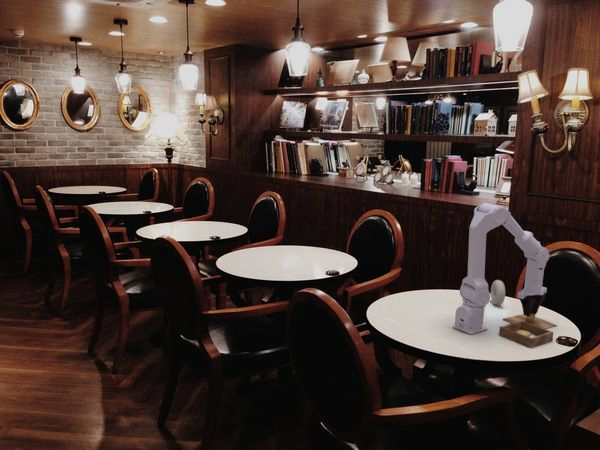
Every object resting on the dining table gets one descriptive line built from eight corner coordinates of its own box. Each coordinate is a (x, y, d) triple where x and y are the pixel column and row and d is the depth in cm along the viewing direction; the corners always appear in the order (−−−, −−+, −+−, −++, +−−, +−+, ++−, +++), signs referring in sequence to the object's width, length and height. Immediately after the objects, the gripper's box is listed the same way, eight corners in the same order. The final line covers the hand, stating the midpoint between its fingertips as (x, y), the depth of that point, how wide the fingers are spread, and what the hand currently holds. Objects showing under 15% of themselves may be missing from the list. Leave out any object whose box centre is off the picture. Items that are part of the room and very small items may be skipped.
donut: (505, 309, 207) (507, 284, 205) (496, 308, 207) (498, 284, 206) (497, 300, 217) (499, 277, 215) (488, 300, 217) (490, 276, 215)
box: (530, 348, 171) (531, 339, 170) (498, 335, 180) (499, 326, 180) (552, 340, 177) (553, 332, 176) (520, 328, 187) (521, 320, 186)
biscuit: (525, 338, 179) (525, 335, 179) (513, 334, 183) (514, 331, 182) (532, 335, 182) (533, 333, 182) (520, 331, 185) (521, 328, 185)
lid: (533, 333, 184) (534, 323, 183) (502, 320, 195) (503, 310, 194) (556, 327, 190) (558, 317, 190) (525, 315, 201) (527, 305, 201)
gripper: (532, 284, 183) (527, 321, 185) (556, 278, 190) (551, 314, 193) (514, 278, 188) (510, 315, 191) (538, 273, 196) (534, 308, 199)
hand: (529, 314), depth 192 cm, fingers open, 3 cm apart
